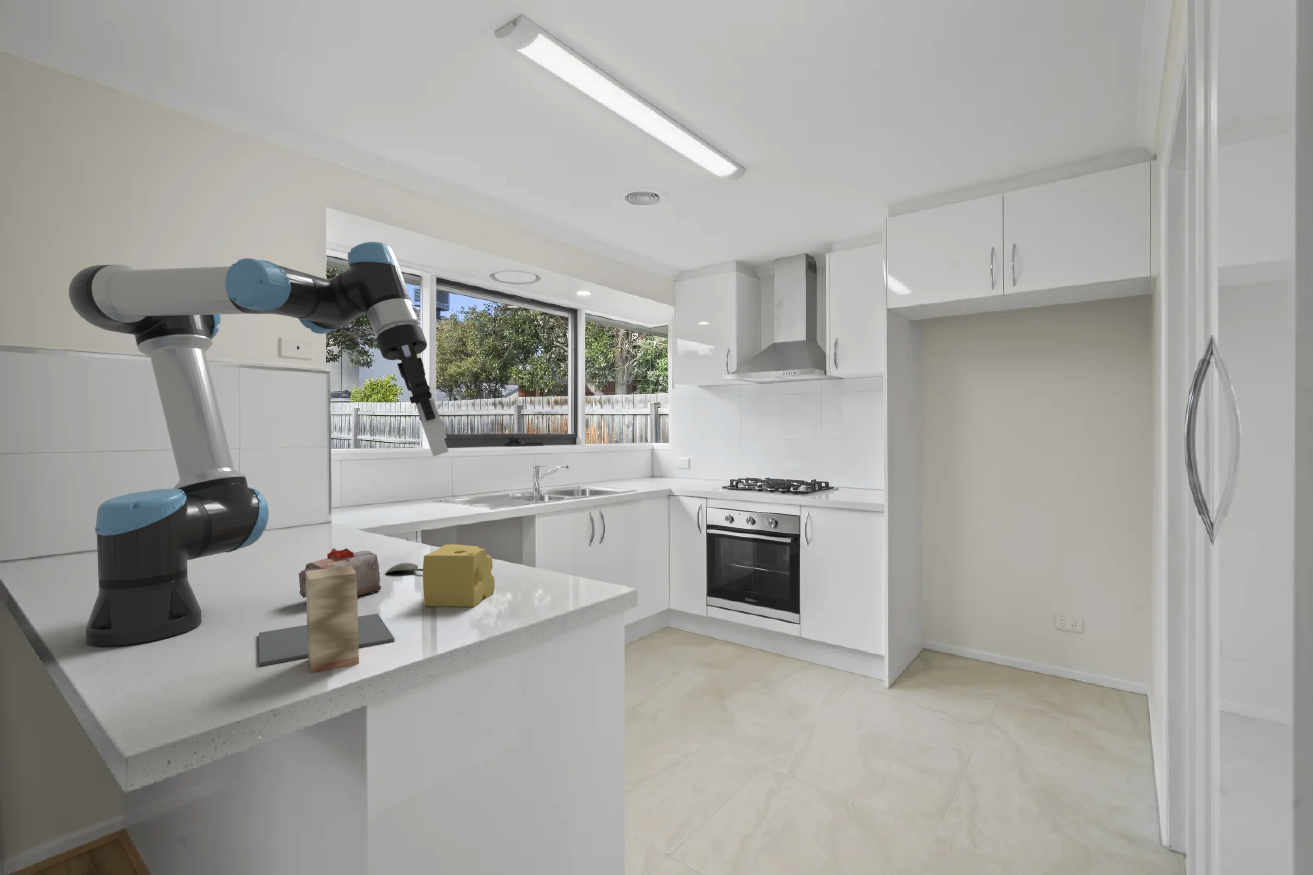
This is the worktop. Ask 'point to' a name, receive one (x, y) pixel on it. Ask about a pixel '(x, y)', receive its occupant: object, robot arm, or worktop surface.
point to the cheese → (457, 576)
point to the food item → (360, 562)
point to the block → (332, 618)
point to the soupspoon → (404, 567)
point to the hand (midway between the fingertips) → (439, 447)
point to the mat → (295, 640)
